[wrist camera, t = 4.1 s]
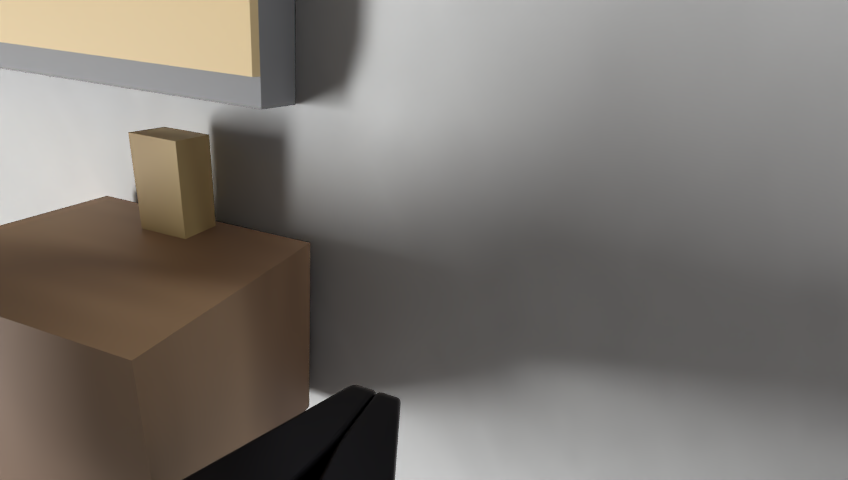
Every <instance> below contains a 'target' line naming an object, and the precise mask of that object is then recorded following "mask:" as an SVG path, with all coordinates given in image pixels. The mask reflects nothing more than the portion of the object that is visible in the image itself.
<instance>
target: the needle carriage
mask: <svg viewBox="0 0 848 480" xmlns="http://www.w3.org/2000/svg"><path fill="white" fill-rule="evenodd" d="M128 134H129V141H130V148H131V155H132V162H133V169H134V177H135V184H136V191H137V198H138V203H135V202H131V201H127V200H122V199H118V198H114V197H109V196H105V197H101V198H98V199H94V200H90V201H87V202H83V203H80V204H76V205H73V206H69V207H65V208H62V209H58V210H55V211H51V212H47V213H44V214H40V215H37V216H33V217H29V218H26V219H22V220H19V221H15V222H11V223H8V224H4V225H1V226H0V480H182V479H184V478H186V477H188V476H190V475H191V474H193V473H195V472H197V471H198V470H200V469H202V468H204V467H206V466H207V465H209V464H211V463H213V462H215V461H216V460H218V459H220V458H222V457H224V456H225V455H227V454H229V453H231V452H233V451H234V450H236V449H238V448H240V447H241V446H243V445H245V444H247V443H249V442H250V441H252V440H254V439H256V438H258V437H259V436H261V435H263V434H265V433H267V432H268V431H270V430H272V429H274V428H276V427H277V426H279V425H281V424H283V423H284V422H286V421H288V420H290V419H292V418H293V417H295V416H297V415H299V414H301V413H302V412H304V411H305V410H306V409H307V408H308V407H309V344H310V243H309V242H304V241H300V240H296V239H291V238H287V237H283V236H278V235H274V234H270V233H265V232H261V231H257V230H252V229H248V228H244V227H239V226H235V225H231V224H226V223H222V222H218V221H215V209H214V195H213V182H212V169H211V155H210V142H209V135H207V134H201V133H196V132H190V131H185V130H179V129H173V128H168V127H161V128H155V129H148V130H142V131H135V132H128Z"/></svg>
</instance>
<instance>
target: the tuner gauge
mask: <svg viewBox="0 0 848 480" xmlns="http://www.w3.org/2000/svg"><path fill="white" fill-rule="evenodd" d="M0 68H2V69H8V70H14V71H21V72H27V73H34V74H40V75H46V76H53V77H59V78H65V79H72V80H78V81H84V82H91V83H97V84H104V85H110V86H116V87H123V88H129V89H135V90H142V91H148V92H155V93H161V94H167V95H174V96H180V97H186V98H193V99H199V100H205V101H212V102H218V103H225V104H231V105H237V106H244V107H250V108H256V109H267V108H274V107H281V106H288V105H295V0H0Z"/></svg>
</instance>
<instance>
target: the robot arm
mask: <svg viewBox="0 0 848 480" xmlns="http://www.w3.org/2000/svg"><path fill="white" fill-rule="evenodd" d="M400 404H401V402H400V399H399V398H398V397H394V396H391V395H388V394H385V393H381V392H379V393H377V394H376V392H375V391H374V390H371V389H368V388H365V387H361V386H358V385H352V386H349V387H347V388H345V389H344V390H342V391H340V392H338V393H336V394H335V395H333V396H331V397H329V398H327V399H326V400H324V401H322V402H320V403H319V404H317V405H315V406H313V407H311V408H310V409H308V410H306V411H304V412H302V413H301V414H299V415H297V416H295V417H293V418H292V419H290V420H288V421H286V422H284V423H283V424H281V425H279V426H277V427H276V428H274V429H272V430H270V431H268V432H267V433H265V434H263V435H261V436H259V437H258V438H256V439H254V440H252V441H250V442H249V443H247V444H245V445H243V446H241V447H240V448H238V449H236V450H234V451H233V452H231V453H229V454H227V455H225V456H224V457H222V458H220V459H218V460H216V461H215V462H213V463H211V464H209V465H207V466H206V467H204V468H202V469H200V470H198V471H197V472H195V473H193V474H191V475H190V476H188V477H186V478H184V479H182V480H395V471H396V457H397V444H398V431H399V417H400Z"/></svg>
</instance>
